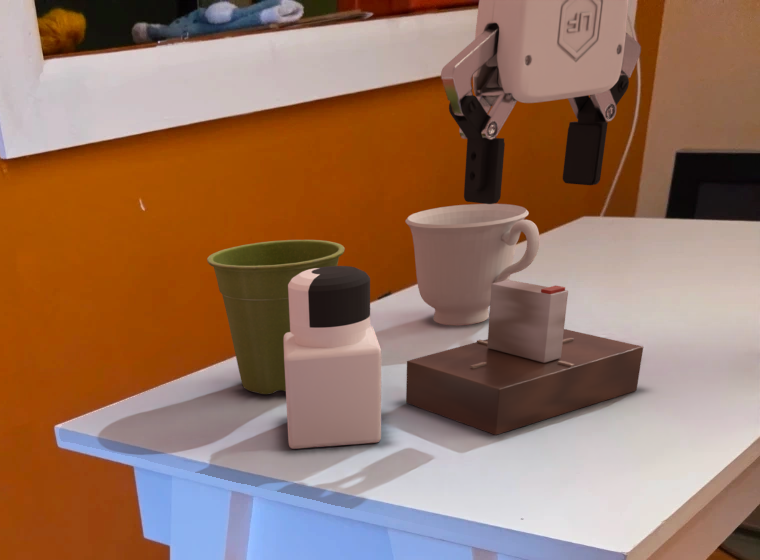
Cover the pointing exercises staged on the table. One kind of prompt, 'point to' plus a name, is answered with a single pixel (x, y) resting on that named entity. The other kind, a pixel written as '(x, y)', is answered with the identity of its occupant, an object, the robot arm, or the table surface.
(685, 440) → the table surface
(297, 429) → the medicine bottle
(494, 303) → the tap handle
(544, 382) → the tap base
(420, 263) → the teacup
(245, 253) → the plant pot
